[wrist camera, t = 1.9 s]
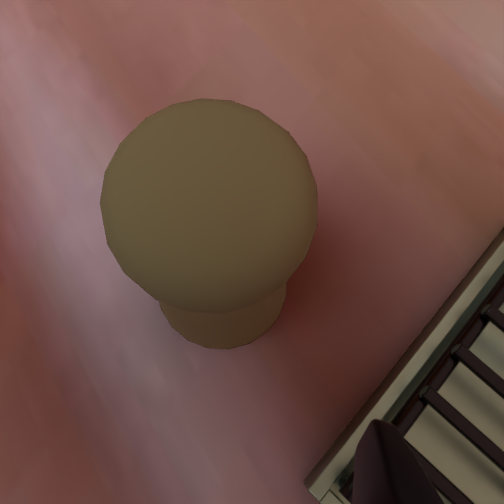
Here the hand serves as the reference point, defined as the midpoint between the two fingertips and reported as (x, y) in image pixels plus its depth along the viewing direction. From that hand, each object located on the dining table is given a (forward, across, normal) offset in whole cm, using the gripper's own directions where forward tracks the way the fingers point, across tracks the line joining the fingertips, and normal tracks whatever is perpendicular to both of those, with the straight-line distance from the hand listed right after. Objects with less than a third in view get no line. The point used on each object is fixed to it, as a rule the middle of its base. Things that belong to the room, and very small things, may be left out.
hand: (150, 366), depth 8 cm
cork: (+10, 0, +5) cm, 11 cm away
